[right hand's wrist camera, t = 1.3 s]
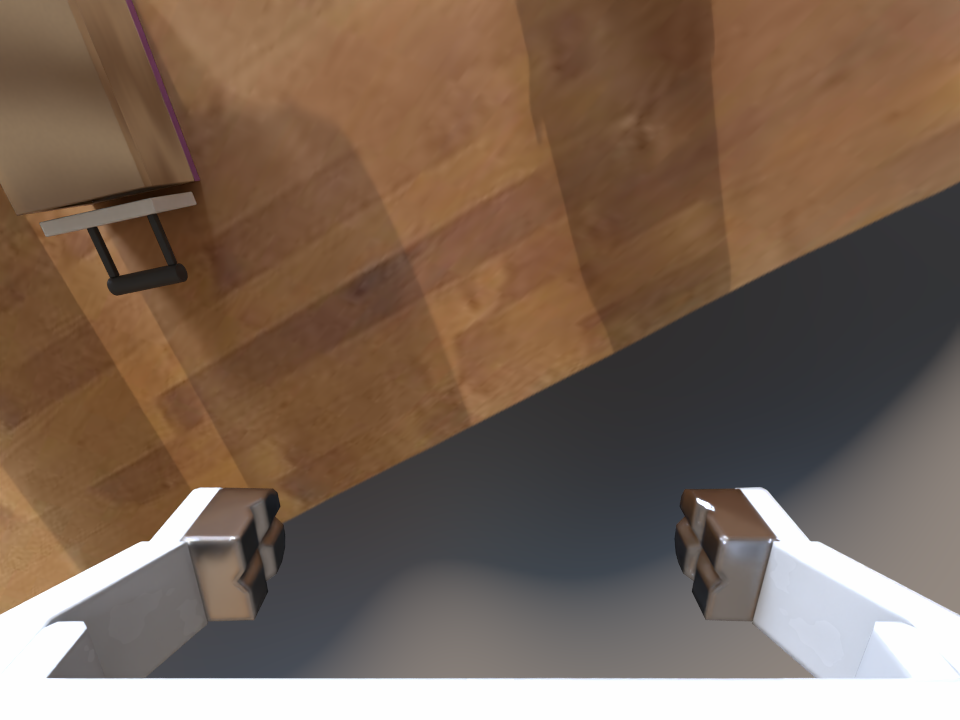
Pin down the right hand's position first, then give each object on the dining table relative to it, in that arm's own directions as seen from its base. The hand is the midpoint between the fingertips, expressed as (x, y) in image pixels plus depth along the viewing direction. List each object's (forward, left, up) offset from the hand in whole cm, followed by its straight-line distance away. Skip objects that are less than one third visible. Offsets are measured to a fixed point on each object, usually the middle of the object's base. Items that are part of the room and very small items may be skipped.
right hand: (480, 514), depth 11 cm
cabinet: (-13, -33, -43) cm, 56 cm away
